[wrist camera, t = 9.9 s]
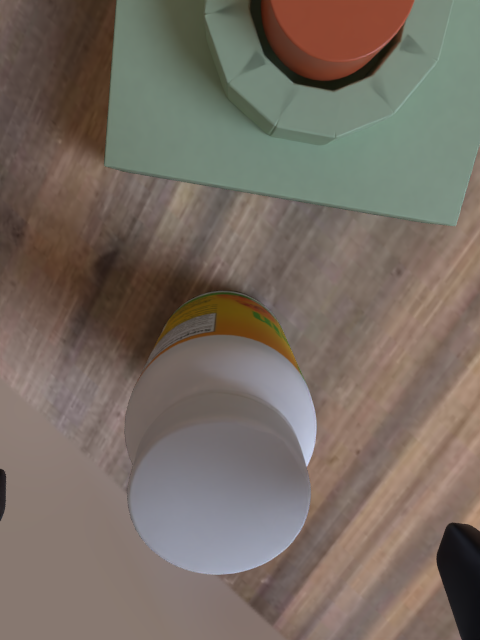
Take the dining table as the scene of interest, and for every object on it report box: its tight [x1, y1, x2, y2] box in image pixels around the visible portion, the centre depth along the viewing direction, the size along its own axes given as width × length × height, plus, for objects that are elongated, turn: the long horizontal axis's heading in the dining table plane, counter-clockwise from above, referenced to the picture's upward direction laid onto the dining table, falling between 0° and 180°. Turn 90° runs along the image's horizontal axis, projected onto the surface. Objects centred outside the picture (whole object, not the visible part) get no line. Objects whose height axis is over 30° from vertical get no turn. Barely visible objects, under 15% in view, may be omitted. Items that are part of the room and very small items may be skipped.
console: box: [104, 0, 480, 226], centre depth 13 cm, size 10×12×4 cm
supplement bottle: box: [124, 291, 317, 575], centre depth 14 cm, size 5×5×10 cm
